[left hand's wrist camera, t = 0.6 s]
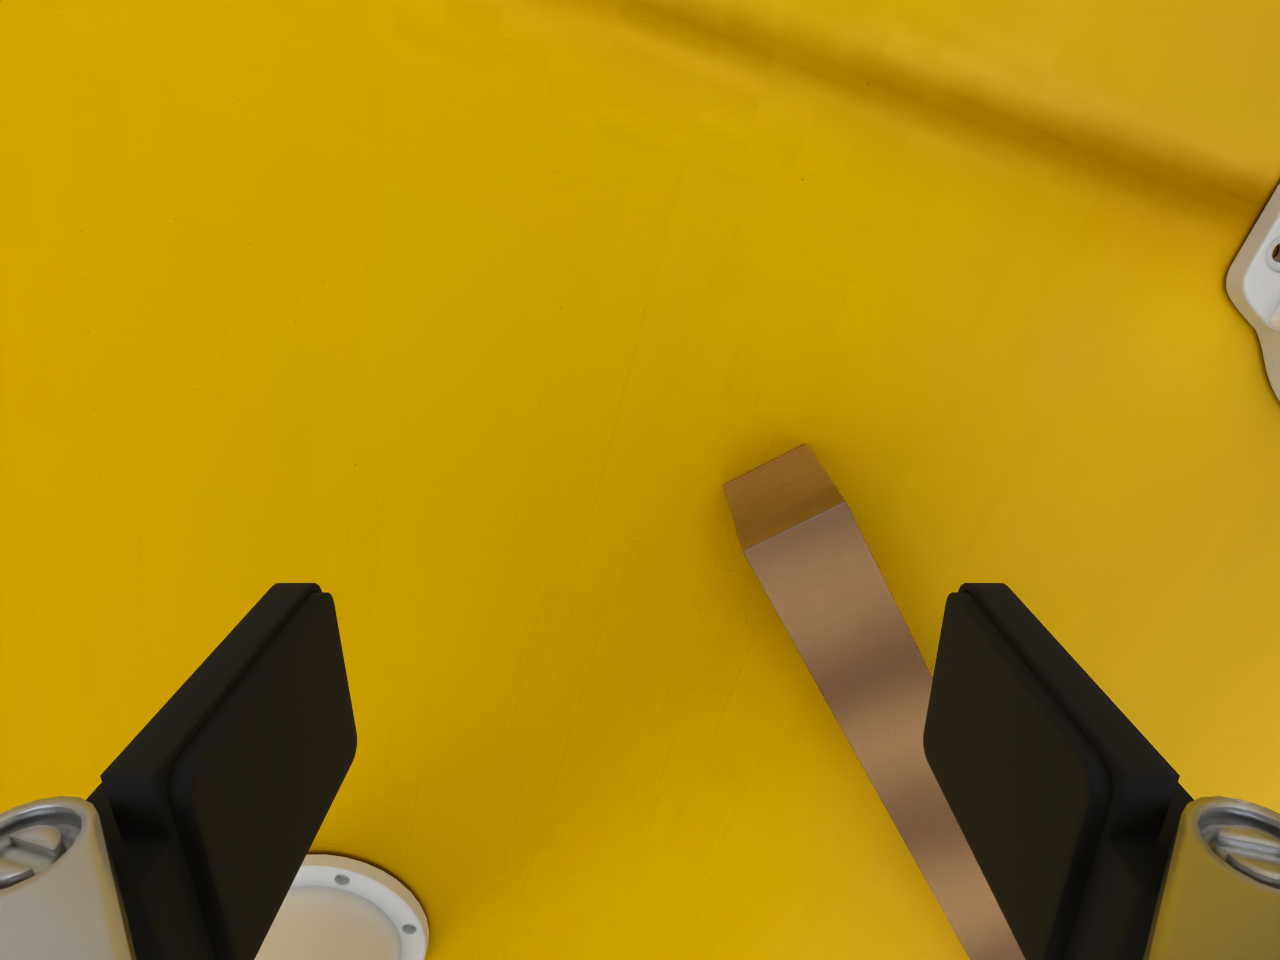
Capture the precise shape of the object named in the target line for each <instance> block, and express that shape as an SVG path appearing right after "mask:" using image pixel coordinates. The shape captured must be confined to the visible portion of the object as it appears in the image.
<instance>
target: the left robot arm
mask: <svg viewBox="0 0 1280 960" xmlns="http://www.w3.org/2000/svg"><path fill="white" fill-rule="evenodd" d="M356 747H357V733H356V727H355V721H354V716H353V710H352V704H351V698H350V692H349V687H348V681H347V675H346V669H345V664H344V658H343V652H342V646H341V640H340V635H339V629H338V623H337V617H336V611H335V606H334V601H333V598H332V596H331V594H330V593H322V590H321V588H320V587H319V585H317V584H316V583H276V584H275V585H274V586H272V587H271V588H270V589H269V590H268V592H267V593H266V594H265V595H264V596H263V597H262V598H261V599H260V600H259V601H258V603H257V604H256V605H255V606H254V607H253V608H252V609H251V610H250V611H249V613H248V614H247V615H246V616H245V617H244V618H243V619H242V620H241V621H240V622H239V624H238V625H237V626H236V627H235V628H234V629H233V630H232V631H231V632H230V633H229V635H228V636H227V637H226V638H225V639H224V640H223V641H222V642H221V643H220V644H219V646H218V647H217V648H216V649H215V650H214V651H213V652H212V653H211V654H210V655H209V657H208V658H207V659H206V660H205V661H204V662H203V663H202V664H201V665H200V667H199V668H198V669H197V670H196V671H195V672H194V673H193V674H192V675H191V676H190V678H189V679H188V680H187V681H186V682H185V683H184V684H183V685H182V686H181V687H180V689H179V690H178V691H177V692H176V693H175V694H174V695H173V696H172V697H171V698H170V700H169V701H168V702H167V703H166V704H165V705H164V706H163V707H162V708H161V709H160V711H159V712H158V713H157V714H156V715H155V716H154V717H153V718H152V719H151V720H150V722H149V723H148V724H147V725H146V726H145V727H144V728H143V729H142V730H141V732H140V733H139V734H138V735H137V736H136V737H135V738H134V739H133V740H132V741H131V743H130V744H129V745H128V746H127V747H126V748H125V749H124V750H123V751H122V752H121V754H120V755H119V756H118V757H117V758H116V759H115V760H114V761H113V762H112V763H111V765H110V766H109V767H108V768H107V769H106V770H105V771H104V772H103V773H102V774H101V776H100V777H101V780H102V783H101V784H100V785H99V786H98V787H97V788H96V789H95V791H94V792H93V793H92V794H91V795H90V796H89V797H88V798H87V799H86V800H84V799H81V798H78V797H64V796H60V797H53V798H47V799H40V800H36V801H33V802H30V803H27V804H24V805H21V806H17V807H14V808H12V809H10V810H8V811H6V812H4V813H2V814H0V960H424V959H425V956H426V952H427V948H428V945H429V927H428V922H427V918H426V916H425V913H424V911H423V909H422V907H421V905H420V903H419V902H418V901H417V900H416V898H415V897H414V896H413V894H412V893H411V892H410V891H409V890H408V889H407V888H406V887H405V886H403V885H402V884H401V883H400V882H399V881H398V880H397V879H395V878H394V877H392V876H390V875H389V874H387V873H386V872H384V871H383V870H381V869H378V868H376V867H374V866H372V865H369V864H367V863H365V862H361V861H358V860H354V859H351V858H347V857H342V856H335V855H327V854H307V853H308V851H309V849H310V847H311V845H312V843H313V841H314V838H315V836H316V834H317V832H318V830H319V828H320V826H321V824H322V822H323V820H324V818H325V816H326V814H327V812H328V810H329V808H330V806H331V804H332V802H333V800H334V798H335V796H336V794H337V792H338V790H339V788H340V786H341V784H342V782H343V780H344V778H345V776H346V774H347V772H348V770H349V768H350V766H351V764H352V762H353V759H354V756H355V753H356ZM923 747H924V753H925V756H926V759H927V762H928V764H929V766H930V768H931V770H932V772H933V774H934V776H935V778H936V780H937V782H938V784H939V786H940V788H941V790H942V792H943V794H944V796H945V798H946V800H947V802H948V804H949V806H950V808H951V810H952V812H953V814H954V816H955V818H956V820H957V822H958V824H959V826H960V828H961V830H962V832H963V834H964V836H965V838H966V841H967V843H968V845H969V847H970V849H971V851H972V853H973V855H974V857H975V859H976V861H977V863H978V865H979V867H980V869H981V871H982V873H983V875H984V877H985V879H986V881H987V883H988V885H989V887H990V889H991V891H992V893H993V895H994V897H995V899H996V901H997V903H998V905H999V907H1000V909H1001V911H1002V913H1003V915H1004V917H1005V919H1006V921H1007V923H1008V925H1009V927H1010V929H1011V931H1012V933H1013V935H1014V937H1015V939H1016V941H1017V944H1018V946H1019V948H1020V950H1021V952H1022V954H1023V956H1024V958H1025V959H1026V960H1280V814H1278V813H1276V812H1274V811H1272V810H1270V809H1268V808H1266V807H1263V806H1259V805H1256V804H1253V803H1250V802H1247V801H1244V800H1240V799H1233V798H1227V797H1220V796H1216V797H1202V798H1199V799H1196V800H1194V799H1193V798H1192V797H1191V796H1190V795H1189V794H1188V793H1187V792H1186V791H1185V789H1184V788H1183V787H1182V786H1181V785H1180V784H1179V783H1178V780H1179V777H1180V776H1179V774H1178V773H1177V772H1176V771H1175V770H1174V769H1173V768H1172V767H1171V766H1170V765H1169V763H1168V762H1167V761H1166V760H1165V759H1164V758H1163V757H1162V756H1161V755H1160V754H1159V752H1158V751H1157V750H1156V749H1155V748H1154V747H1153V746H1152V745H1151V744H1150V743H1149V741H1148V740H1147V739H1146V738H1145V737H1144V736H1143V735H1142V734H1141V733H1140V732H1139V730H1138V729H1137V728H1136V727H1135V726H1134V725H1133V724H1132V723H1131V722H1130V720H1129V719H1128V718H1127V717H1126V716H1125V715H1124V714H1123V713H1122V712H1121V711H1120V709H1119V708H1118V707H1117V706H1116V705H1115V704H1114V703H1113V702H1112V701H1111V700H1110V698H1109V697H1108V696H1107V695H1106V694H1105V693H1104V692H1103V691H1102V690H1101V689H1100V687H1099V686H1098V685H1097V684H1096V683H1095V682H1094V681H1093V680H1092V679H1091V678H1090V676H1089V675H1088V674H1087V673H1086V672H1085V671H1084V670H1083V669H1082V668H1081V666H1080V665H1079V664H1078V663H1077V662H1076V661H1075V660H1074V659H1073V658H1072V657H1071V655H1070V654H1069V653H1068V652H1067V651H1066V650H1065V649H1064V648H1063V647H1062V646H1061V644H1060V643H1059V642H1058V641H1057V640H1056V639H1055V638H1054V637H1053V636H1052V635H1051V633H1050V632H1049V631H1048V630H1047V629H1046V628H1045V627H1044V626H1043V625H1042V624H1041V622H1040V621H1039V620H1038V619H1037V618H1036V617H1035V616H1034V615H1033V614H1032V613H1031V611H1030V610H1029V609H1028V608H1027V607H1026V606H1025V605H1024V604H1023V603H1022V601H1021V600H1020V599H1019V598H1018V597H1017V596H1016V595H1015V594H1014V593H1013V592H1012V590H1011V589H1010V588H1009V587H1008V586H1006V585H1005V584H1004V583H964V584H963V585H961V587H960V588H959V590H958V593H950V594H949V596H948V598H947V601H946V606H945V611H944V617H943V623H942V629H941V635H940V640H939V646H938V652H937V658H936V664H935V669H934V675H933V681H932V687H931V692H930V698H929V704H928V710H927V716H926V721H925V727H924V733H923Z"/></svg>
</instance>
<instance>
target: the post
mask: <svg viewBox="0 0 1280 960" xmlns="http://www.w3.org/2000/svg"><path fill="white" fill-rule="evenodd" d="M723 487H724V491H725V494H726V498H727V501H728V504H729V508H730V511H731V514H732V518H733V521H734V524H735V528H736V531H737V534H738V538H739V541H740V544H741V548H742V551H743V553H744V555H745V557H746V559H747V560H748V562H749V564H750V566H751V568H752V569H753V571H754V573H755V575H756V577H757V578H758V580H759V582H760V584H761V586H762V587H763V589H764V591H765V593H766V595H767V596H768V598H769V600H770V602H771V603H772V605H773V607H774V609H775V611H776V612H777V614H778V616H779V618H780V620H781V621H782V623H783V625H784V627H785V629H786V630H787V632H788V634H789V636H790V637H791V639H792V641H793V643H794V645H795V646H796V648H797V650H798V652H799V654H800V655H801V657H802V659H803V661H804V663H805V664H806V666H807V668H808V670H809V672H810V673H811V675H812V677H813V679H814V680H815V682H816V684H817V686H818V688H819V689H820V691H821V693H822V695H823V697H824V698H825V700H826V702H827V704H828V706H829V707H830V709H831V711H832V713H833V714H834V716H835V718H836V720H837V722H838V723H839V725H840V727H841V729H842V731H843V732H844V734H845V736H846V738H847V740H848V741H849V743H850V745H851V747H852V749H853V750H854V752H855V754H856V756H857V757H858V759H859V761H860V763H861V765H862V766H863V768H864V770H865V772H866V774H867V775H868V777H869V779H870V781H871V783H872V784H873V786H874V788H875V790H876V792H877V793H878V795H879V797H880V799H881V800H882V802H883V804H884V806H885V808H886V809H887V811H888V813H889V815H890V817H891V818H892V820H893V822H894V824H895V826H896V827H897V829H898V831H899V833H900V834H901V836H902V838H903V840H904V842H905V843H906V845H907V847H908V849H909V851H910V852H911V854H912V856H913V858H914V860H915V861H916V863H917V865H918V867H919V869H920V870H921V872H922V874H923V876H924V877H925V879H926V881H927V883H928V885H929V886H930V888H931V890H932V892H933V894H934V895H935V897H936V899H937V901H938V903H939V904H940V906H941V908H942V910H943V912H944V913H945V915H946V917H947V919H948V920H949V922H950V924H951V926H952V928H953V929H954V931H955V933H956V935H957V937H958V938H959V940H960V942H961V944H962V946H963V947H964V949H965V951H966V953H967V954H968V956H969V958H970V960H1026V959H1025V958H1024V956H1023V954H1022V952H1021V950H1020V948H1019V946H1018V944H1017V941H1016V939H1015V937H1014V935H1013V933H1012V931H1011V929H1010V927H1009V925H1008V923H1007V921H1006V919H1005V917H1004V915H1003V913H1002V911H1001V909H1000V907H999V905H998V903H997V901H996V899H995V897H994V895H993V893H992V891H991V889H990V887H989V885H988V883H987V881H986V879H985V877H984V875H983V873H982V871H981V869H980V867H979V865H978V863H977V861H976V859H975V857H974V855H973V853H972V851H971V849H970V847H969V845H968V843H967V841H966V838H965V836H964V834H963V832H962V830H961V828H960V826H959V824H958V822H957V820H956V818H955V816H954V814H953V812H952V810H951V808H950V806H949V804H948V802H947V800H946V798H945V796H944V794H943V792H942V790H941V788H940V786H939V784H938V782H937V780H936V778H935V776H934V774H933V772H932V770H931V768H930V766H929V764H928V762H927V759H926V756H925V753H924V747H923V733H924V727H925V721H926V716H927V710H928V704H929V698H930V692H931V687H932V681H933V678H932V676H931V674H930V672H929V670H928V668H927V666H926V664H925V662H924V660H923V658H922V655H921V653H920V651H919V649H918V647H917V645H916V643H915V641H914V639H913V637H912V635H911V633H910V631H909V629H908V627H907V625H906V623H905V621H904V619H903V617H902V615H901V613H900V611H899V609H898V607H897V604H896V602H895V600H894V598H893V596H892V594H891V592H890V590H889V588H888V586H887V584H886V582H885V580H884V578H883V576H882V574H881V572H880V570H879V568H878V566H877V564H876V562H875V560H874V558H873V555H872V553H871V551H870V549H869V547H868V545H867V543H866V541H865V539H864V537H863V535H862V533H861V531H860V529H859V527H858V525H857V523H856V521H855V519H854V517H853V515H852V513H851V511H850V509H849V506H848V504H847V502H846V501H845V499H844V498H843V496H842V495H841V493H840V492H839V490H838V489H837V488H836V486H835V485H834V483H833V482H832V480H831V479H830V477H829V476H828V474H827V473H826V471H825V470H824V468H823V467H822V465H821V464H820V463H819V461H818V460H817V458H816V457H815V455H814V454H813V452H812V451H811V449H810V448H809V446H808V445H807V444H804V445H802V446H800V447H798V448H796V449H794V450H792V451H790V452H788V453H786V454H784V455H782V456H780V457H778V458H776V459H774V460H772V461H770V462H768V463H766V464H764V465H762V466H760V467H758V468H756V469H754V470H752V471H750V472H748V473H746V474H744V475H742V476H740V477H738V478H736V479H734V480H732V481H730V482H728V483H726V484H725V485H723Z"/></svg>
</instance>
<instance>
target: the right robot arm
mask: <svg viewBox="0 0 1280 960" xmlns="http://www.w3.org/2000/svg"><path fill="white" fill-rule="evenodd" d="M1278 244H1279V252H1278V254H1277V256H1276V257H1275V258H1273V257H1272V253H1273V250H1274V248H1275V247H1276V246H1277V245H1278ZM1226 289H1227V293H1228V295H1229V298H1230V299H1231V301H1232V303H1233V304H1234V305H1235V307H1236V308H1237V310H1238V311H1239V312H1240V313H1241V314H1242V315H1243V317H1244V318H1245V319H1246V320H1247V321H1248V322H1249V323H1250V324H1251V325H1252V327H1253V328H1254V329H1255V330H1256V333H1257V335H1258V337H1259V341H1260V344H1261V348H1262V353H1263V358H1264V363H1265V368H1266V372H1267V375H1268V379H1269V381H1270V384H1271V387H1272V389H1273V391H1274V393H1275V395H1276V397H1277V398H1278V400H1279V402H1280V183H1279V185H1278V186H1277V188H1276V190H1275V192H1274V193H1273V195H1272V197H1271V198H1270V200H1269V202H1268V203H1267V205H1266V207H1265V209H1264V210H1263V212H1262V214H1261V215H1260V217H1259V219H1258V220H1257V222H1256V224H1255V226H1254V227H1253V229H1252V231H1251V232H1250V234H1249V236H1248V237H1247V239H1246V241H1245V242H1244V244H1243V246H1242V248H1241V249H1240V251H1239V253H1238V254H1237V256H1236V258H1235V259H1234V261H1233V263H1232V265H1231V267H1230V269H1229V271H1228V274H1227V277H1226Z"/></svg>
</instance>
